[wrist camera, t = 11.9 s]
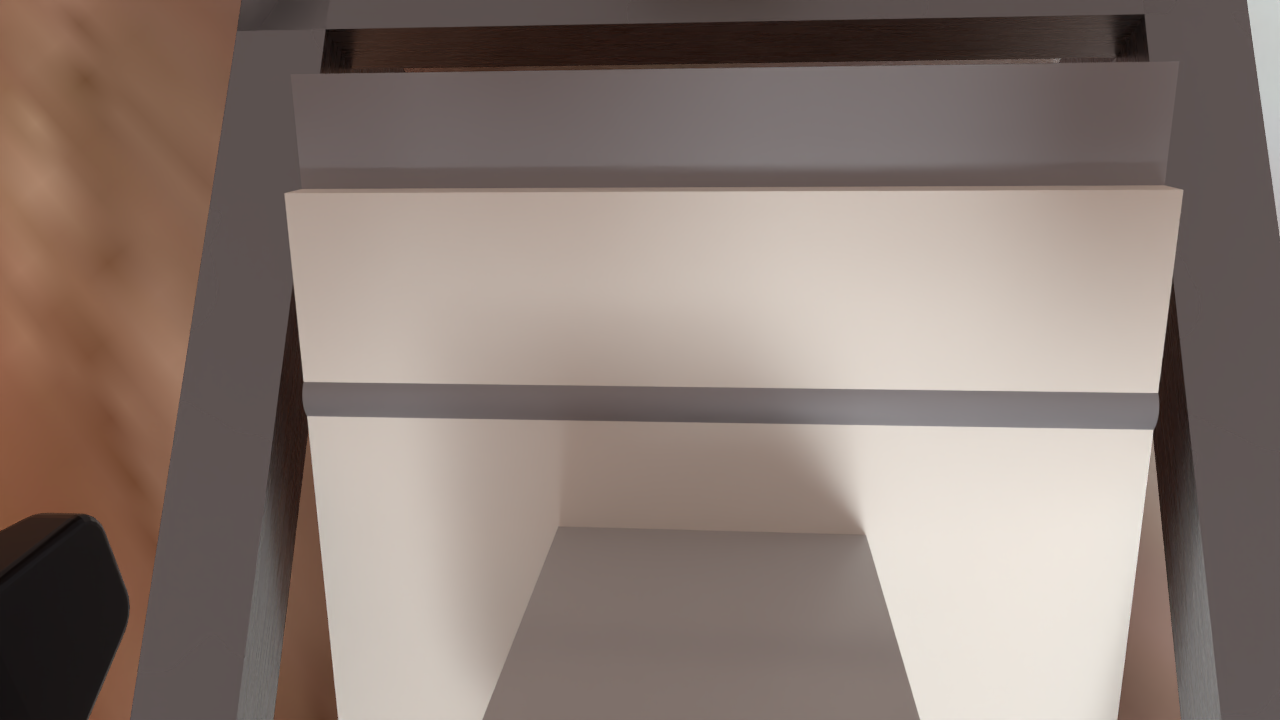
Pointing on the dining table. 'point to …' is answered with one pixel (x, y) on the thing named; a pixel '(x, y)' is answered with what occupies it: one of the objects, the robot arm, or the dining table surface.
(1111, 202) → the trapdoor
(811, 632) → the gray rectangular block
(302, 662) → the dining table surface
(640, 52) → the frame
